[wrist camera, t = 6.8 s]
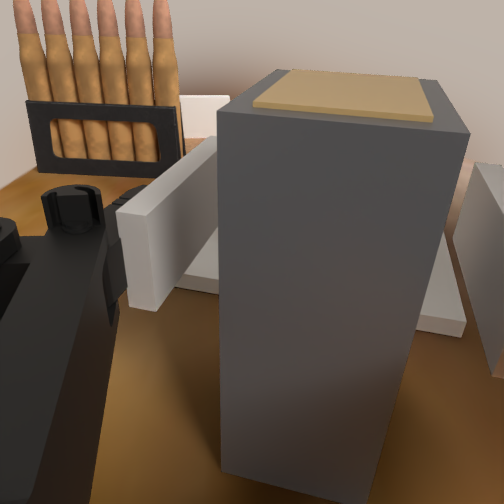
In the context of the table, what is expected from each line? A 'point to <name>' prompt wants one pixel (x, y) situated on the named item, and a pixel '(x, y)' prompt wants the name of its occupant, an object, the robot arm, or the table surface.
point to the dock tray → (433, 309)
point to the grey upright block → (325, 267)
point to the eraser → (201, 114)
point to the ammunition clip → (101, 92)
